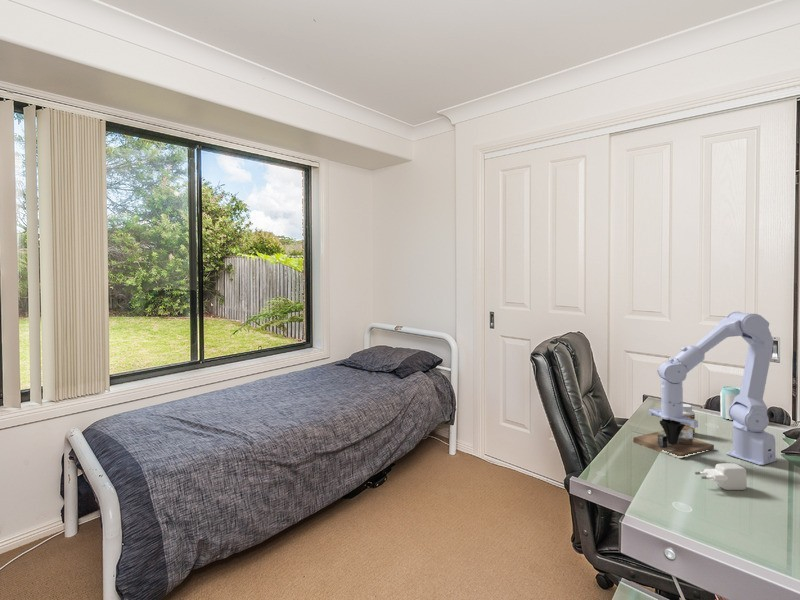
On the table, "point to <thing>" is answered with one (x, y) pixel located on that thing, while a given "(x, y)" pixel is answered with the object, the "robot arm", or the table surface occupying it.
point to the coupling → (683, 438)
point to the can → (727, 399)
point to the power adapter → (727, 476)
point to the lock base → (676, 449)
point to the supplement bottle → (689, 414)
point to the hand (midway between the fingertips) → (672, 443)
